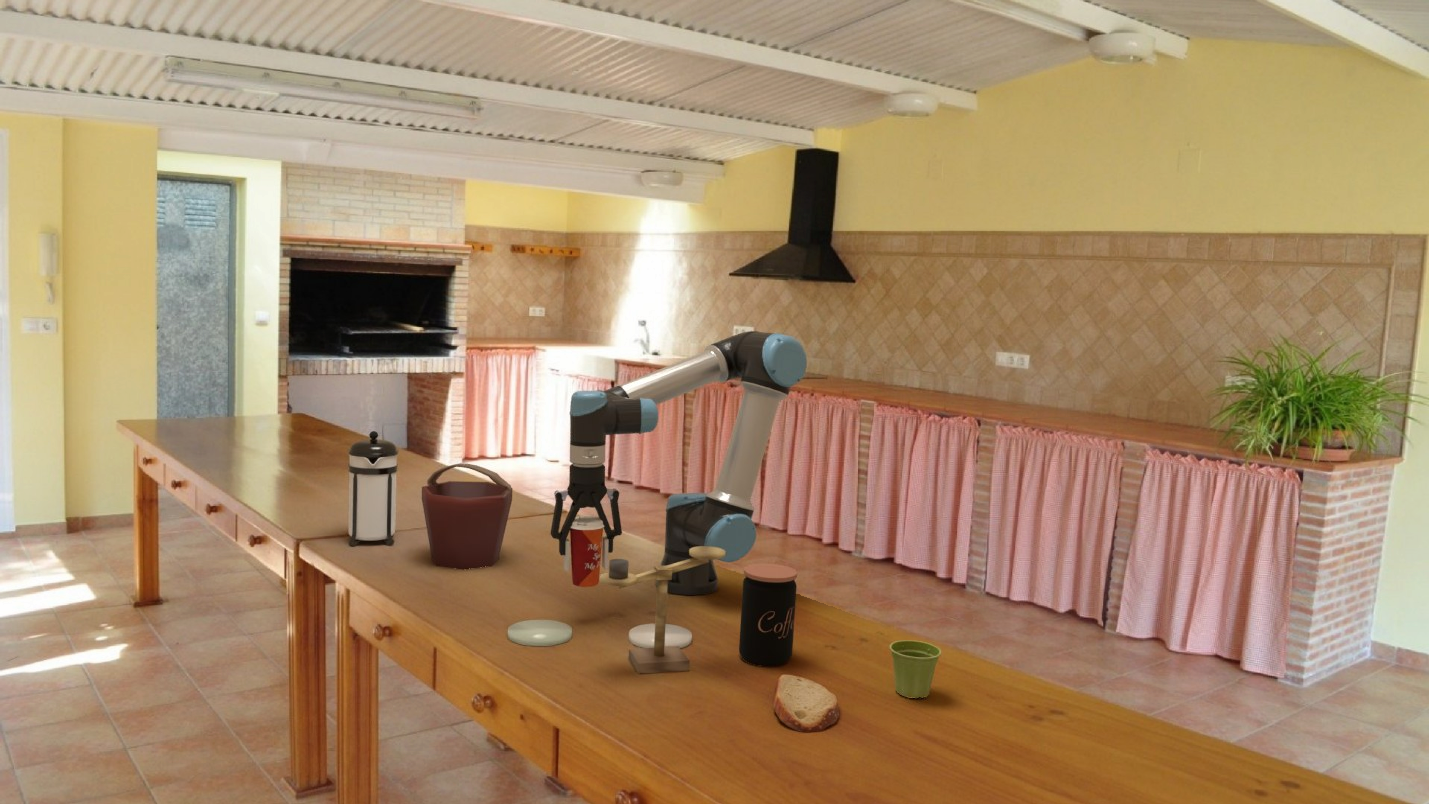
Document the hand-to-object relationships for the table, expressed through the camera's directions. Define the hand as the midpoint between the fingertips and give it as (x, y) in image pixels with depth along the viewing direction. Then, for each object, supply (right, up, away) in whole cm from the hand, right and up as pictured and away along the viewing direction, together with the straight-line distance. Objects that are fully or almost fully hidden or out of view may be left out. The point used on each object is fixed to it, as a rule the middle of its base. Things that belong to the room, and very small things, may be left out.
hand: (585, 568), depth 224 cm
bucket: (-36, -5, +43) cm, 57 cm away
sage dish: (-8, -12, -10) cm, 18 cm away
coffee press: (-66, -2, +59) cm, 88 cm away
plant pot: (+64, -19, -30) cm, 73 cm away
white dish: (+16, -13, -8) cm, 23 cm away
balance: (+17, -15, -22) cm, 32 cm away
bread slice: (+43, -19, -39) cm, 61 cm away
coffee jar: (+38, -16, -16) cm, 44 cm away
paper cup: (0, -3, 0) cm, 3 cm away
